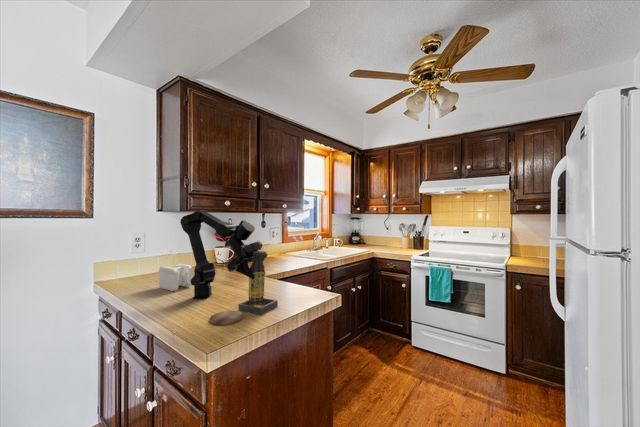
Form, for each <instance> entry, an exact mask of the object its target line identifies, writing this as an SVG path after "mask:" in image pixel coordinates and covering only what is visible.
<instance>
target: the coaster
mask: <svg viewBox="0 0 640 427" xmlns="http://www.w3.org/2000/svg"><path fill="white" fill-rule="evenodd" d="M244 315H245V314H244V312H243V311H239V310H225V311H220V312H217V313H214V314H212V315H211V316H210V317H209V323H210V324H211V325H214V326H229V325H233V324H237V323H239V322H241V321H242V320H243V319H244V318H245V316H244Z"/></svg>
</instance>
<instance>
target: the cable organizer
mask: <svg viewBox="0 0 640 427" xmlns="http://www.w3.org/2000/svg"><path fill="white" fill-rule="evenodd" d="M192 278H193V267H192V266H191V265H190V264H186V263H185V264H184V263H175V264H174V267H171V266H167V265H165V266H164V265H163V266H159V268H158V286H159V287H160V288H161V289H162V290H168V291H170V292H175V291H178V289H179V286H183V287H184V288H189V287H192V286H193V285H191V281H190V280H191V279H192Z"/></svg>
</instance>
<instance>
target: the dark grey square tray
mask: <svg viewBox="0 0 640 427" xmlns="http://www.w3.org/2000/svg"><path fill="white" fill-rule="evenodd" d="M257 304H260V305H263V306H261V307H259V306H254V305H257ZM278 306H279V305H278V299H273V298H267V297H264V298H263V300H262V301H258V302H252V301H249V299H248V300H245V301H243V302H240V303H239V304H238V311H239V312H243V313H244V312H245V313H249V314H255V315H259V316H261V315H263V313H264V314H265V313H268V312H269V311H271V310H273V309H275V308H277V307H278Z"/></svg>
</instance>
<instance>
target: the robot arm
mask: <svg viewBox="0 0 640 427" xmlns="http://www.w3.org/2000/svg"><path fill="white" fill-rule="evenodd" d="M202 223H203V224H205V225H207V226H209V227H210V228H211V229H214V231H215V234H217V235H218V236H219V238H222V239H226V238H228V239H226V240H225V244H224V247H230V249H231V250H232V251H233V254H232V255H233V257H232V258H231V260H230V261H229V262H228V263H227V265H226V266H227V270H228V271H229V272H237V273H240V274H242V275H244V276H245V277H248V279H249V278H251V279H254V278H255V277H254V275H253V273H252V271H251V270H250V266H249V263H253V251H262V248H263V243H262V242H261V241H260V240H256V241H254V242H251V243H249V244H246V242H245V241H247V240H248V239H249V238H250V237H251V235H252V234H253V233H254V232H255V230H256V229H255V226H254V225H253V224H251V223H250V222H249V221H246V220H243V219H242V220H241V221H240V222H239V223H238V225H236V224H234V223H232V222H226V221H224V220H221V219H219V218H217V217H216V216H215V215H213V214H211V213H209V212H208V211H207V210H196V211H194V212H192V213H190V214H187V215H183V216H182V217H181V219H180V226H181V229H182V230H183V231H184V232H185V233H186V234H187V236H188V239H189V242H190V246H191V250H192V253H193V257H194V260H195V266H194V275H192V279H191V280H190V281H191V285H192V286H194V288H193V289H194V296H193V297H192V299H193V300H196V299H197V300H200V299H203V300H204V299H208V298H210V296H212V295H213V294H212V285H211V283H214V280H215V277H216V269H215V266H214V263H213V262H209V261H208V258H207V257H208V256H207V254H206V251H205V247H204V244H203V240H202V237H201V233H200V231H201V228H202ZM268 256H269V255H268V254H267V252H266V251H263V255H262V263H263V264H264V261H265V259H266V258H267V257H268Z"/></svg>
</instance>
